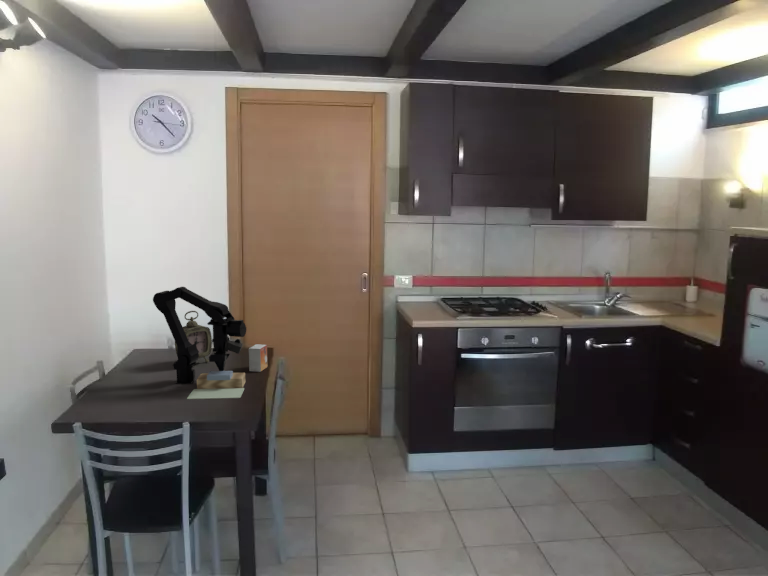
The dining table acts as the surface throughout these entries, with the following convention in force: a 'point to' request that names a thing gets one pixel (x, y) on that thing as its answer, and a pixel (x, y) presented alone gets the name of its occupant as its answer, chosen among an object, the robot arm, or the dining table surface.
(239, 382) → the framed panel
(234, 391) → the mat
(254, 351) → the small box
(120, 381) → the dining table surface
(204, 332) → the tabletop clock
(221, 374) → the slate blue board
